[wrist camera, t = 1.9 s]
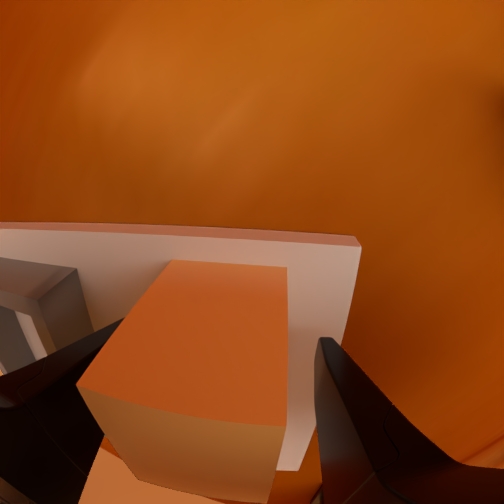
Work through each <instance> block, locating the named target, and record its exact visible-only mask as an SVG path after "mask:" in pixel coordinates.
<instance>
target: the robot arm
mask: <svg viewBox="0 0 504 504" xmlns="http://www.w3.org/2000/svg"><path fill="white" fill-rule="evenodd" d="M124 318H125V317H124ZM124 318H122V319H120V320H118V321H116V322H114V323H112V324H110V325H108V326H106V327H104V328H102V329H100V330H98V331H96V332H94V333H92V334H90V335H88V336H86V337H84V338H82V339H80V340H78V341H76V342H74V343H72V344H70V345H68V346H66V347H64V348H62V349H60V350H58V351H55V352H53V353H51V354H49V355H47V356H46V357H43V358H41V359H39V360H37V361H35V362H33V363H31V364H29V365H27V366H24V367H22V368H20V369H17V370H15V371H12V372H10V373H7V374H4V375H2V376H0V504H78V502H79V500H80V497H81V494H82V491H83V489H84V486H85V483H86V481H87V478H88V477H87V476H88V475H89V472H90V470H91V467H92V465H93V462H94V460H95V457H96V455H97V452H98V449H99V447H100V445H101V442H102V440H103V438H104V435H105V434H104V432H103V431H102V429H101V428H100V426H99V425H98V423H97V421H96V420H95V418H94V416H93V415H92V413H91V411H90V410H89V408H88V406H87V404H86V403H85V401H84V399H83V397H82V396H81V394H80V392H79V390H78V388H77V386H76V384H77V382H78V381H79V379H80V378H81V376H82V375H83V374H84V372H85V371H86V369H87V368H88V367H89V365H90V364H91V362H92V361H93V360H94V358H95V357H96V356H97V354H98V353H99V352H100V350H101V349H102V347H103V346H104V345H105V343H106V342H107V341H108V339H109V338H110V337H111V335H112V334H113V333H114V331H115V330H116V329H117V328H118V326H119V325H120V324H121V322H122V321H123V320H124ZM314 407H315V416H316V424H317V433H318V442H319V452H320V462H321V472H322V483H323V485H322V487H321V488H320V489H319V491H318V492H317V494H316V495H315V496H314V498H313V499H312V500H311V502H310V504H504V469H496V468H485V467H476V466H469V465H465V464H462V463H459V462H457V461H456V460H454V459H452V458H451V457H450V456H448V455H447V454H446V453H445V452H444V451H442V450H441V449H440V448H439V447H438V446H437V445H435V444H434V443H433V442H432V441H431V440H430V439H428V438H427V437H426V436H425V435H424V434H423V433H421V432H420V431H419V430H418V429H417V428H416V427H415V426H414V425H413V424H412V423H411V422H410V421H409V420H408V419H407V418H406V417H405V416H404V415H403V414H402V413H401V412H400V411H399V410H398V409H397V408H396V407H395V405H392V402H391V401H390V400H389V399H388V398H387V397H386V396H385V395H384V393H383V392H382V391H381V390H380V389H379V388H378V387H377V386H376V385H375V384H374V383H373V381H372V380H371V379H370V378H369V377H368V376H367V375H366V374H365V373H364V372H363V370H362V369H361V368H360V367H359V366H358V365H357V364H356V363H355V362H354V361H353V359H352V358H351V357H350V356H349V355H348V354H347V353H346V352H345V351H344V350H343V348H342V347H341V346H340V345H339V344H338V343H337V342H336V341H335V340H334V339H333V338H332V337H320V338H319V339H318V343H317V348H316V353H315V358H314Z"/></svg>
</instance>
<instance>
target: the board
mask: <svg viewBox="0 0 504 504" xmlns="http://www.w3.org/2000/svg"><path fill="white" fill-rule="evenodd" d="M361 249H362V247H361V245H360V244H359V242H358V241H357V239H356V238H355V236H349V235H336V234H322V233H307V232H292V231H275V230H258V229H240V228H221V227H199V226H176V225H149V224H116V223H68V222H0V257H3V258H9V259H16V260H22V261H29V262H36V263H43V264H50V265H58V266H65V267H73V268H77V271H78V275H79V279H80V283H81V287H82V291H83V295H84V299H85V302H86V306H87V309H88V313H89V316H90V319H91V323H92V326H93V329H94V332H96V331H98V330H100V329H102V328H104V327H106V326H108V325H110V324H112V323H114V322H116V321H118V320H120V319H122V318H124V317H126V316H127V315H128V313H129V312H130V311H131V309H132V308H133V307H134V306H135V304H136V303H137V302H138V301H139V299H140V298H141V297H142V296H143V294H144V293H145V292H146V291H147V289H148V288H149V287H150V286H151V284H152V283H153V282H154V281H155V280H156V278H157V277H158V276H159V275H160V273H161V272H162V271H163V270H164V269H165V267H166V266H167V265H168V264H169V263H170V261H171V260H172V259H176V260H189V261H203V262H217V263H232V264H247V265H262V266H278V267H287V284H288V385H287V426H286V431H285V435H284V440H283V444H282V448H281V452H280V456H279V460H278V464H277V468H276V470H285V471H298V470H299V467H300V465H301V462H302V460H303V457H304V455H305V452H306V450H307V447H308V445H309V442H310V440H311V437H312V434H313V431H314V429H315V426H316V416H315V407H314V358H315V353H316V348H317V343H318V339H319V338H320V337H332V338H333V339H334V340H335V341H336V342H337V343H338V344H339V345H340V346H341V342H342V338H343V334H344V330H345V326H346V322H347V318H348V314H349V309H350V305H351V300H352V296H353V291H354V286H355V281H356V276H357V271H358V266H359V260H360V255H361ZM15 313H16V316H17V319H18V321H19V323H20V326H21V328H22V331H23V333H24V335H25V337H26V340H27V342H28V344H29V346H30V348H31V350H32V352H33V355H34V357H35V359H36V361H37V360H39V359H41V358H43V357H46V356H47V354H46V351H45V349H44V347H43V345H42V342H41V340H40V338H39V336H38V333H37V331H36V328H35V326H34V323H33V321H32V318H31V316H29V315H26V314H23V313H20V312H17V311H15Z"/></svg>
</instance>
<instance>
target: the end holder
mask: <svg viewBox="0 0 504 504" xmlns="http://www.w3.org/2000/svg"><path fill="white" fill-rule="evenodd" d="M15 311H17V312H20V313H23V314H26V315H29V316H31V318H32V321H33V323H34V326H35V328H36V331H37V333H38V336H39V338H40V340H41V342H42V345H43V347H44V349H45V351H46V354H47V355H49V354H51V353H53V352H55V351H58V350H60V349H62V348H64V347H66V346H68V345H70V344H72V343H74V342H76V341H78V340H80V339H82V338H84V337H86V336H88V335H90V334H92V333H94V329H93V326H92V323H91V319H90V316H89V313H88V309H87V306H86V302H85V299H84V295H83V291H82V287H81V283H80V279H79V275H78V271H77V268H73V267H65V266H58V265H50V264H43V263H36V262H29V261H22V260H16V259H9V258H3V257H0V369H1V371H2V373H3V374H7V373H10V372H12V371H15V370H17V369H20V368H22V367H24V366H27V365H29V364H31V363H33V362H35V361H36V359H35V357H34V355H33V352H32V350H31V348H30V346H29V344H28V342H27V340H26V337H25V335H24V333H23V331H22V328H21V326H20V323H19V321H18V319H17V316H16V313H15Z"/></svg>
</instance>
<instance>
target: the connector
mask: <svg viewBox="0 0 504 504" xmlns="http://www.w3.org/2000/svg"><path fill="white" fill-rule="evenodd" d="M287 385H288V284H287V267H278V266H262V265H247V264H232V263H217V262H203V261H189V260H176V259H172V260H171V261H170V263H169V264H168V265H167V266H166V267H165V269H164V270H163V271H162V272H161V273H160V275H159V276H158V277H157V278H156V280H155V281H154V282H153V283H152V284H151V286H150V287H149V288H148V289H147V291H146V292H145V293H144V294H143V296H142V297H141V298H140V299H139V301H138V302H137V303H136V304H135V306H134V307H133V308H132V309H131V311H130V312H129V313H128V315H127V316H126V317H125V318H124V320H123V321H122V322H121V324H120V325H119V326H118V328H117V329H116V330H115V331H114V333H113V334H112V335H111V337H110V338H109V339H108V341H107V342H106V343H105V345H104V346H103V347H102V349H101V350H100V352H99V353H98V354H97V356H96V357H95V358H94V360H93V361H92V362H91V364H90V365H89V367H88V368H87V369H86V371H85V372H84V374H83V375H82V376H81V378H80V379H79V381H78V382H77V384H76V386H77V388H78V390H79V392H80V394H81V396H82V397H83V399H84V401H85V403H86V404H87V406H88V408H89V410H90V411H91V413H92V415H93V416H94V418H95V420H96V421H97V423H98V425H99V426H100V428H101V429H102V431H103V432H104V434H105V435H106V437H107V438H108V440H109V441H110V443H111V444H112V446H113V447H114V449H115V450H116V451H117V453H118V454H119V456H120V457H121V458H122V460H123V461H124V462H125V464H126V465H127V466H128V468H129V469H130V470H131V471H132V473H133V474H134V475H135V477H136V478H137V479H138V480H141V481H144V482H147V483H150V484H154V485H157V486H161V487H165V488H169V489H173V490H177V491H181V492H186V493H191V494H195V495H201V496H206V497H212V498H218V499H225V500H233V501H242V502H252V503H266V504H267V501H268V498H269V494H270V491H271V487H272V483H273V480H274V476H275V472H276V468H277V464H278V460H279V456H280V452H281V448H282V444H283V440H284V435H285V431H286V426H287Z"/></svg>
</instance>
